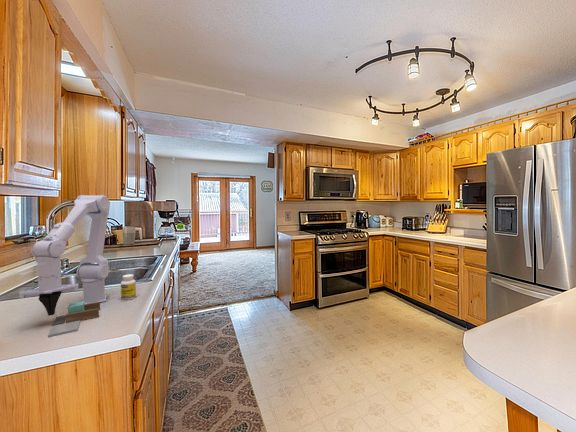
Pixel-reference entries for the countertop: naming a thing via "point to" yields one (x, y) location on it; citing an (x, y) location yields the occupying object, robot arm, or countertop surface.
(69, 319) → the channel
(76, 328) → the tile
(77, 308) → the block
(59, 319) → the mat
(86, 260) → the robot arm
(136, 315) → the countertop surface
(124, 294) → the supplement bottle
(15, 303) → the countertop surface
